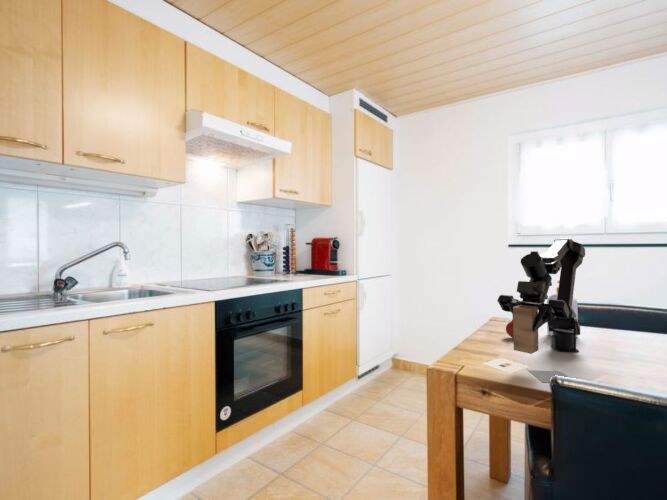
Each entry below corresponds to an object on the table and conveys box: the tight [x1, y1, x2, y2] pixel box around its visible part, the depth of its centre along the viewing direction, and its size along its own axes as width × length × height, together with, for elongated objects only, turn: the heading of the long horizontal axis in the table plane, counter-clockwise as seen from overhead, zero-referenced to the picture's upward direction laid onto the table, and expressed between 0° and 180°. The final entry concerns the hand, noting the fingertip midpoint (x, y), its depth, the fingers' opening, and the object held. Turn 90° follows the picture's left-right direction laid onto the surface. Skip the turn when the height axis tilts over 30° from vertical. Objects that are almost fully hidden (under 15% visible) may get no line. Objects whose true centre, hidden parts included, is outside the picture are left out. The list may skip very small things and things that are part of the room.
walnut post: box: [512, 305, 539, 355], centre depth 102 cm, size 5×5×13 cm
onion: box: [505, 318, 514, 340], centre depth 139 cm, size 6×6×8 cm
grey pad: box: [528, 369, 569, 384], centre depth 98 cm, size 9×9×1 cm
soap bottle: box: [546, 279, 579, 338], centre depth 141 cm, size 9×7×23 cm
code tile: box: [480, 357, 530, 374], centre depth 108 cm, size 10×10×1 cm
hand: (523, 328), depth 102 cm, fingers closed on walnut post, 5 cm apart
